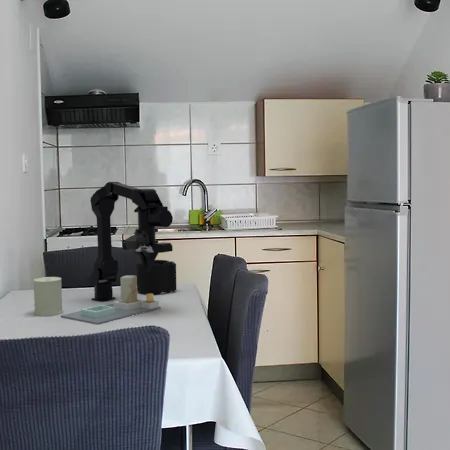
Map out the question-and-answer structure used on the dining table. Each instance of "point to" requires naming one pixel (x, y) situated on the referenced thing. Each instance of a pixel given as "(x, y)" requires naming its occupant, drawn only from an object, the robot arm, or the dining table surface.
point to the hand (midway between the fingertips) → (147, 271)
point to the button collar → (149, 304)
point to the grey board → (107, 312)
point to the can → (48, 296)
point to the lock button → (149, 298)
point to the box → (128, 289)
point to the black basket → (156, 277)
